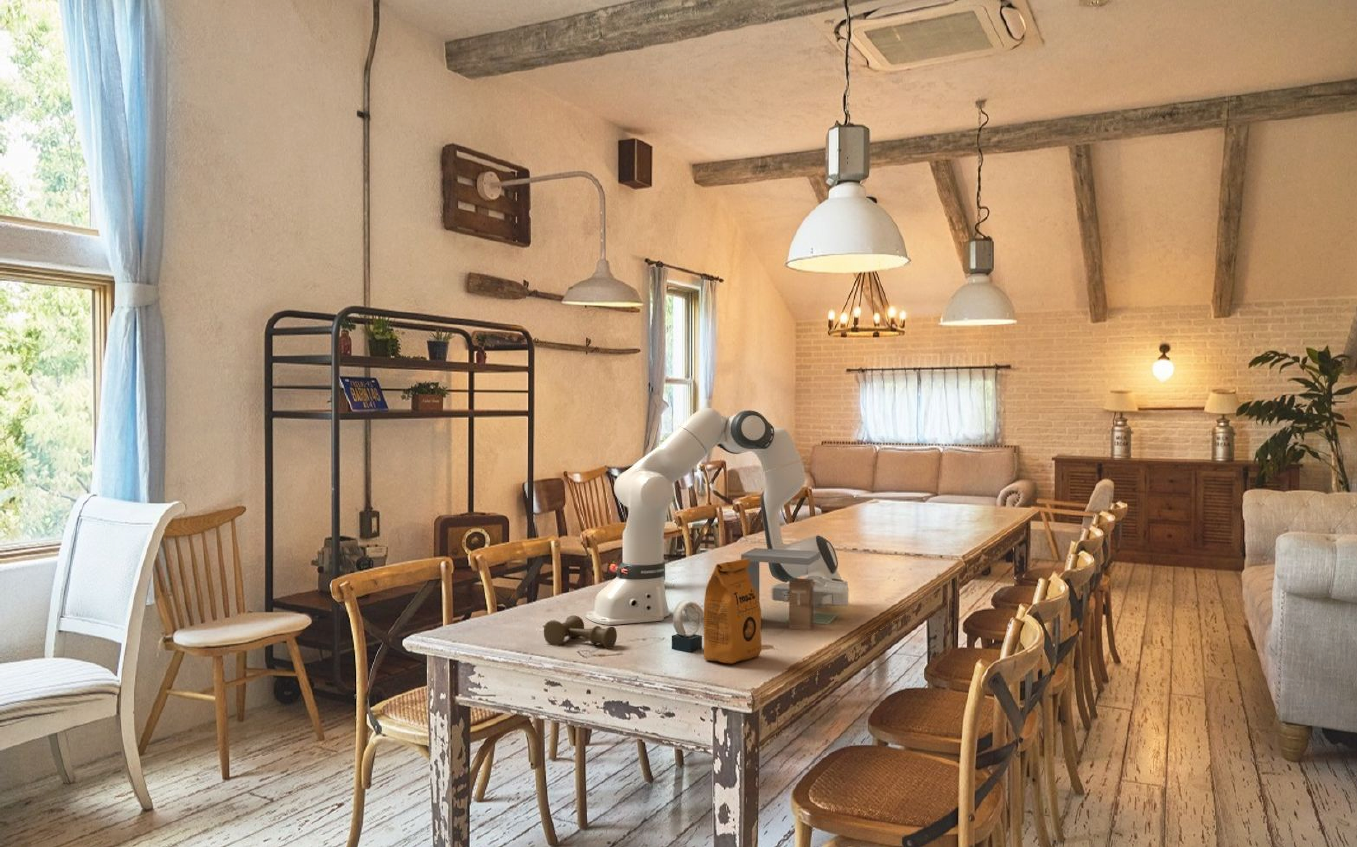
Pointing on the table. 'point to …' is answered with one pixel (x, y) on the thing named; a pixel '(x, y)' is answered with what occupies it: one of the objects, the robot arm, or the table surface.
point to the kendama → (578, 632)
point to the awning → (775, 560)
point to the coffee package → (731, 615)
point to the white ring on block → (689, 639)
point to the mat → (822, 618)
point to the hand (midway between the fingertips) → (803, 600)
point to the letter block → (801, 604)
